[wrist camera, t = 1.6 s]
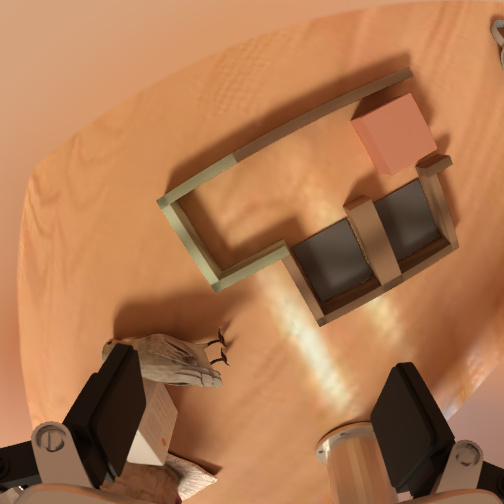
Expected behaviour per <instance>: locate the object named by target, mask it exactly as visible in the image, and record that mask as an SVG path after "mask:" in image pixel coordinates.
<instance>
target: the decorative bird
mask: <svg viewBox="0 0 504 504" xmlns="http://www.w3.org/2000/svg"><path fill="white" fill-rule="evenodd" d="M219 330H220V328H219ZM218 334H219V336H218V337H219V338H220V339H219V340H214V341H211V342H209V343H207V344H206V343H205V344H193V343H189V342H185V341H181V340H179V339H177V338H175V337H172V336H169V335H166V334H160V333H157V334H152V335H149V336H147V337H143V338H139V339H135V340H133V341H131V342H125V341H120V340H117V339H115V338H112V339H110V340H109V341H108V342H107V343H106V344H105V345H104V347H103V351H102V358H103V361H104V362H105V360H106V359H107V357H108V356H109V354H110V352H111V351H112V349H113V348H114V346H115V345H116V343H122V344H128V345H132V346H133V348H134V350H137V351H138V355H139V361H140V368H141V374H142V377H145V378H147V379H150V380H153V381H159V382H163V383H166V384H169V385H175V386H186V385H192V384H193V385H197V386H201V387H203V385H204V386H208V387H216V388H221V386H222V380H221V378H220V377H219V375H221V374H220V373H219V372H218V371H215V370H213V369H212V367H211V365H212V364H213V363H215V362H217V361H221V360H222V361H224V362H225V364H227V358H226V356H225V355H224V354H223V352H222V348H221V356H222V358H220V359H216V360H213V361H212V362H209V361H208V358H207V356H206V353H205V352H204V348H207V347H208V346H210V345H211V344H213V343H216V342H220V343H222V344H223V345H224V346H226V345H225V344H224V343H225V341H224V338H223V336H222V335H221V334H220V332H218ZM226 347H227V346H226ZM227 365H229V364H227ZM229 366H230V365H229Z"/></svg>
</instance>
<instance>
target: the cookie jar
mask: <svg viewBox="0 0 504 504" xmlns="http://www.w3.org/2000/svg"><path fill="white" fill-rule="evenodd" d="M216 481H218V478H217V477H215V476H213V475H212V474H210V473H208V472H207V471H205V470H204V469H202V468H201V467H200V466H198V465H197V464H195V463H193V462H190V461H187V460H184V459H181V458H178V457H176V456H174V455H171V454H169V453H167V456H166V460H165V464H164V465H150V464H140V463H131V462H128V461H127V460H126V463H125V466H124V468H123V471H122V474H121V476H120V477H117V476H116V478H115V481H114V483H113V482H110V481H106V480H104V482H103V485H101V488H102V491H106V492H110V493H114V494H118V495H121V496H125V497H129V498H133V499H137V500H141V501H146V502H150V503H155V504H181V503H182V501H183V500H185V499H188V498H190V497H192V496H193V495H194V494H196V493H197V492H198V491H200V490H202V489H204V488H205V487H206V486H207V485H210V484H212V483H215V482H216Z"/></svg>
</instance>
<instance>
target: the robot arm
mask: <svg viewBox="0 0 504 504" xmlns="http://www.w3.org/2000/svg"><path fill="white" fill-rule="evenodd" d="M145 408H146V396H145V391H144V385H143V379H142V374H141V368H140V361H139V355H138V351H137V350H134V348H133V346H132V345H128V344H122V343H116V345H115V346H114V348H113V349H112V351H111V352H110V354H109V356H108V357H107V359H106V360H105V362H104V363H103V365H102V367H101V368H100V370H99V372H98V373H93V374H92V375H91V376H90V378H89V380H88V381H87V383H86V384H85V386H84V388H83V389H82V391H81V392H80V394H79V396H78V397H77V399H76V401H75V402H74V404H73V406H72V407H71V409H70V411H69V412H68V414H67V416H66V417H65V419H64V421H63V423H62V424H61V423H58V422H53V421H51V422H45V423H42V424H40V425H39V426H37V427H36V428H35V430H34V431H33V433H32V436H31V441H27V442H23V443H20V444H16V445H12V446H8V447H4V448H0V504H155V503H150V502H146V501H141V500H137V499H133V498H129V497H125V496H121V495H118V494H114V493H110V492H106V491H102V488H101V485H103V482H104V480H106V481H110V482H113V483H114V481H115V478H116V476H117V477H120V476H121V474H122V471H123V468H124V466H125V463H126V460H127V457H128V454H129V452H130V449H131V446H132V443H133V441H134V438H135V435H136V433H137V430H138V427H139V424H140V422H141V419H142V416H143V414H144V411H145ZM454 438H455V437H454V435H453V433H452V431H451V429H450V427H449V426H448V424H447V422H446V420H445V418H444V416H443V414H442V412H441V411H440V409H439V407H438V405H437V403H436V402H435V400H434V398H433V396H432V395H431V393H430V391H429V389H428V388H427V386H426V384H425V382H424V381H423V379H422V377H421V376H420V374H419V372H418V371H417V369H416V367H415V366H414V364H413V363H412V362H406V363H398V364H397V365H396V366H395V367H393V368H392V369H391V372H390V374H389V376H388V379H387V381H386V383H385V385H384V388H383V390H382V392H381V394H380V396H379V399H378V401H377V403H376V405H375V407H374V409H373V411H372V413H371V422H359V423H354V424H350V425H346V426H343V427H341V428H338V429H336V430H334V431H332V432H331V433H329V434H328V435H326V436H325V437H324V438H323V439H321V441H320V442H319V443H318V445H317V447H316V457H317V459H318V461H319V462H321V463H322V464H324V465H327V468H328V474H329V480H330V487H331V493H332V500H333V504H504V469H502V468H500V467H497V466H495V465H492V464H490V463H487V462H485V461H483V452H482V450H481V448H480V447H479V446H478V445H477V444H476V443H474V442H472V441H469V440H461V441H458V442H457V443H456V442H455V440H454ZM407 491H410V494H411V496H410V498H409V500H407V501H403V502H399V499H398V495H397V494H398V493H403V492H407Z"/></svg>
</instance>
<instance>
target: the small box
mask: <svg viewBox="0 0 504 504" xmlns="http://www.w3.org/2000/svg"><path fill="white" fill-rule="evenodd" d="M142 379H143V385H144V391H145V396H146V408H145V411H144V414H143V416H142V419H141V422H140V424H139V427H138V430H137V433H136V435H135V438H134V441H133V443H132V446H131V449H130V452H129V454H128V457H127V461H128V462H131V463H140V464H150V465H164V464H165V460H166V456H167V452H168V449H169V445H170V441H171V437H172V433H173V430H174V426H175V422H176V418H177V415H178V411H177V409H176V407H175V405H174V403H173V401H172V399H171V397H170V395H169V393H168V391H167V389H166V387H165V385H164V383H163V382H159V381H153V380H150V379H147V378H145V377H142Z"/></svg>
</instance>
